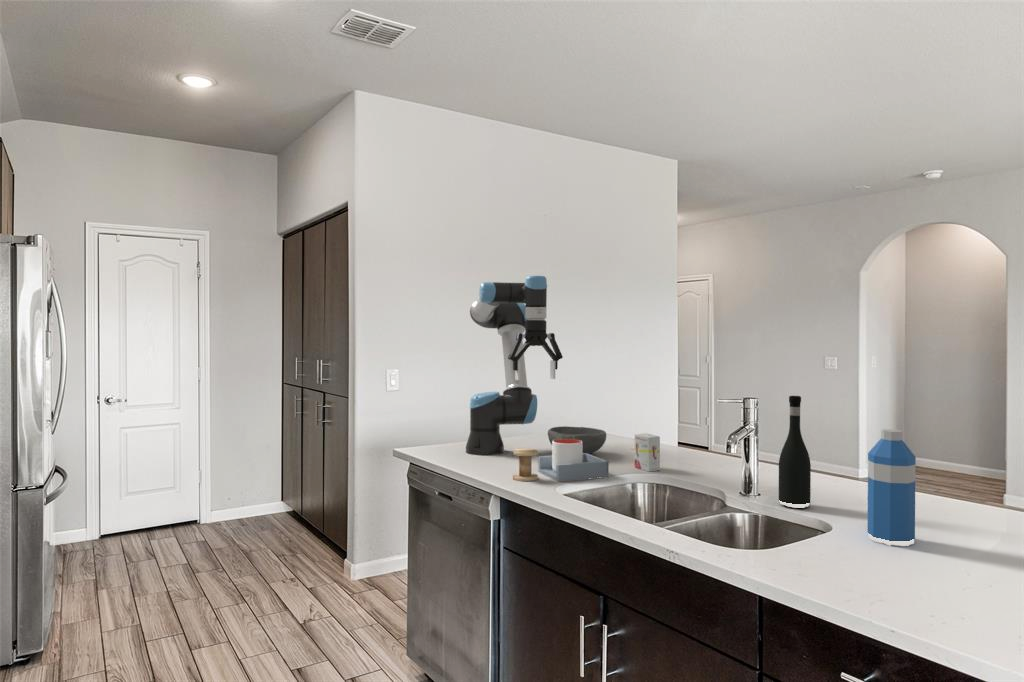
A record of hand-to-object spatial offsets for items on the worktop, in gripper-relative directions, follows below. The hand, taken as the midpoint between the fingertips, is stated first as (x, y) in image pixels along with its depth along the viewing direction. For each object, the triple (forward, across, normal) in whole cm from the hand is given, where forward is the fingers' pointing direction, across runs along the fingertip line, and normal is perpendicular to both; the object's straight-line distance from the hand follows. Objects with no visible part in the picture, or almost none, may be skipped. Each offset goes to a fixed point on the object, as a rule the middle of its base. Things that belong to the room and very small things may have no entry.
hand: (535, 379), depth 234 cm
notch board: (+30, +5, -20) cm, 36 cm away
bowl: (+31, +22, +11) cm, 40 cm away
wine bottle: (+29, +44, -77) cm, 93 cm away
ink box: (+30, +33, -21) cm, 50 cm away
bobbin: (+30, -12, -20) cm, 38 cm away
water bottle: (+28, +41, -108) cm, 119 cm away
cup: (+29, +3, -20) cm, 35 cm away
